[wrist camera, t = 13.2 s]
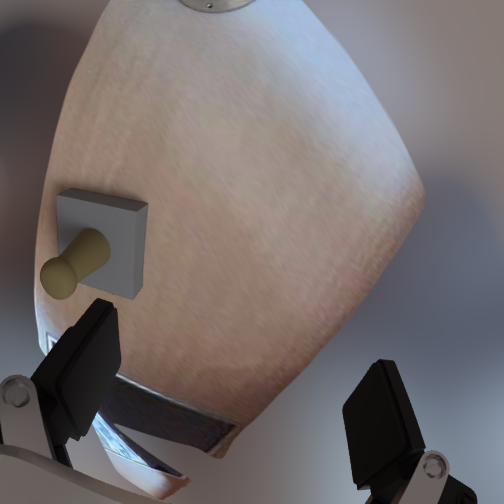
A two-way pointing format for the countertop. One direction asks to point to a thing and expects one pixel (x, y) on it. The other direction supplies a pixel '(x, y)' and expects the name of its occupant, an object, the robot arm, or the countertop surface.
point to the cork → (75, 263)
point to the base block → (107, 236)
